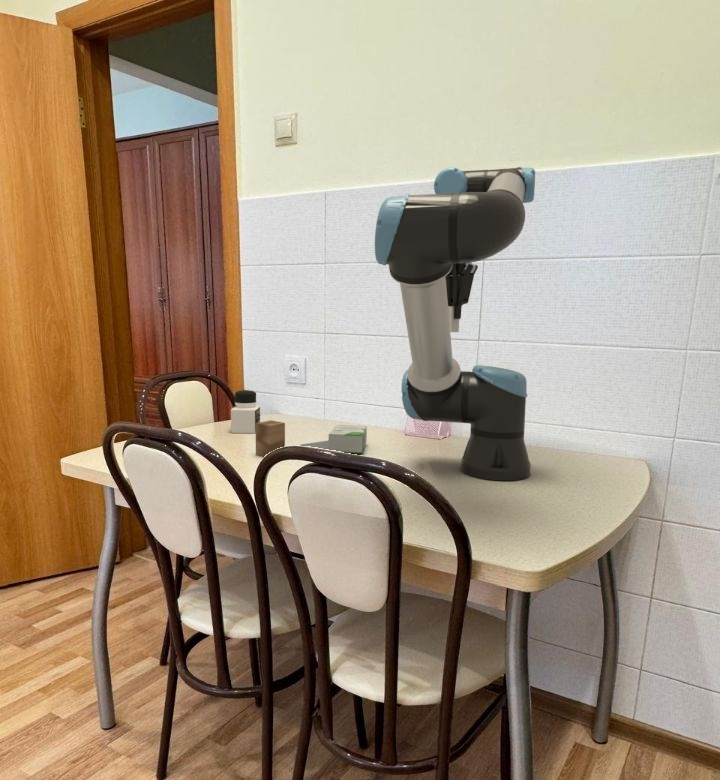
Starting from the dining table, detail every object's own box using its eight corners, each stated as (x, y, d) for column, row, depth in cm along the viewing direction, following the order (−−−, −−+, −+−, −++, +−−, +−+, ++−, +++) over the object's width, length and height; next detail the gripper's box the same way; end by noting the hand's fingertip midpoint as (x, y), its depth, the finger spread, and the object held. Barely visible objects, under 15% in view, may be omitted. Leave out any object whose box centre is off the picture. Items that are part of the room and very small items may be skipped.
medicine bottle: (255, 433, 161) (255, 392, 159) (230, 433, 161) (230, 392, 159) (260, 429, 168) (260, 389, 166) (236, 428, 168) (236, 388, 167)
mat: (360, 450, 143) (361, 448, 143) (300, 460, 133) (300, 458, 133) (333, 441, 153) (333, 439, 153) (275, 449, 142) (275, 448, 142)
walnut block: (284, 454, 138) (284, 422, 137) (269, 458, 134) (269, 425, 133) (270, 451, 141) (270, 420, 140) (255, 455, 137) (255, 423, 136)
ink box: (362, 454, 138) (367, 443, 149) (362, 434, 137) (367, 425, 149) (327, 452, 139) (335, 442, 150) (327, 433, 138) (335, 424, 150)
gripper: (486, 236, 138) (482, 332, 141) (448, 241, 148) (444, 331, 151) (465, 233, 133) (461, 333, 136) (427, 238, 144) (424, 331, 147)
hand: (452, 332), depth 144 cm, fingers closed
